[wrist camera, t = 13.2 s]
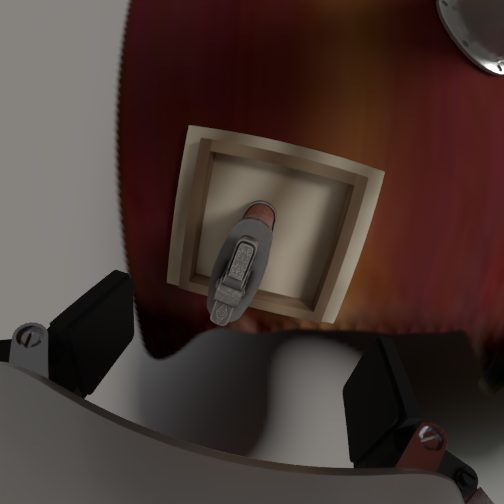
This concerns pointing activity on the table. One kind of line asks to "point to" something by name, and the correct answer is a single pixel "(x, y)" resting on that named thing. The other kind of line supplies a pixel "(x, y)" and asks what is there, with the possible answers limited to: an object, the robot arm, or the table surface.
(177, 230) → the square beige tray
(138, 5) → the table surface
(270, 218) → the lighter
